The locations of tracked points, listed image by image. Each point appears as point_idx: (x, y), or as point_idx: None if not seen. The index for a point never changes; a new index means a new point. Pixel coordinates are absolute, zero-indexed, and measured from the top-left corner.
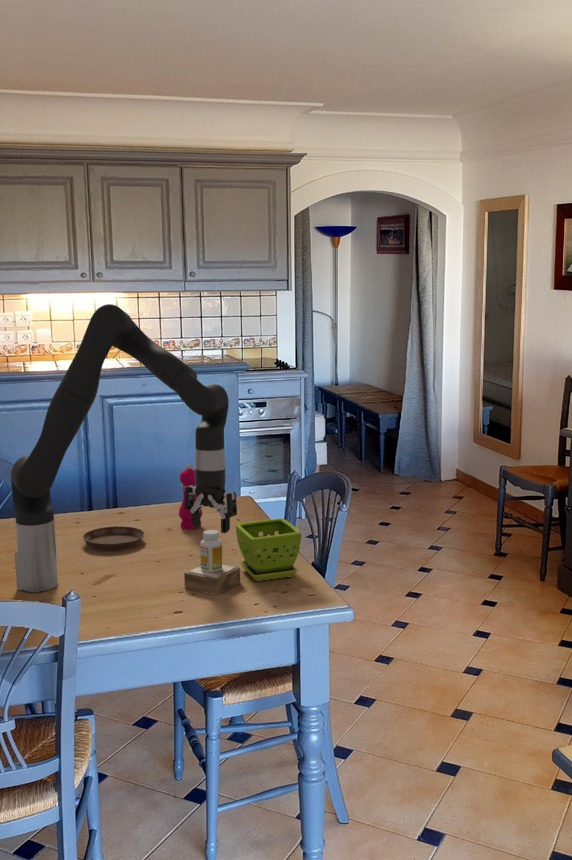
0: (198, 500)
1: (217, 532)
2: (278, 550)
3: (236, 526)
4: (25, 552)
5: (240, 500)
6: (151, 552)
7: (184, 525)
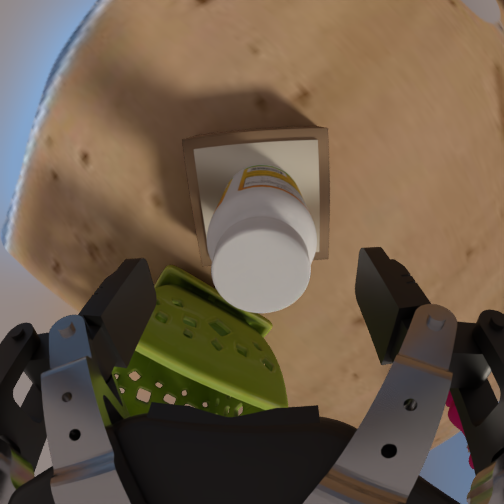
0: (394, 453)
1: (218, 286)
2: None
3: (277, 403)
4: None
5: None
6: (491, 283)
7: None
